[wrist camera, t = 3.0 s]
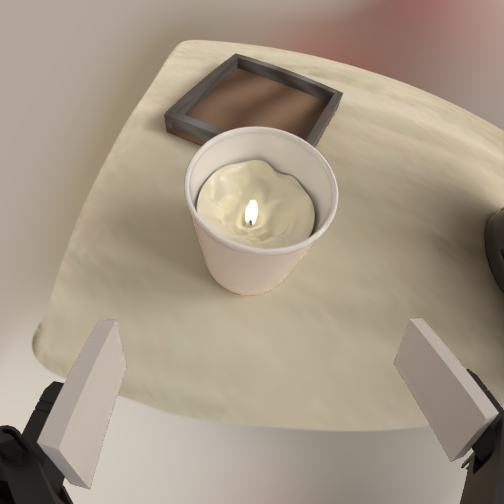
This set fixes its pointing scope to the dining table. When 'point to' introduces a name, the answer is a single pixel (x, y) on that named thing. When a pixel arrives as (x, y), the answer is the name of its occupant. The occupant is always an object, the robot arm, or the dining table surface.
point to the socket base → (253, 102)
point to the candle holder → (258, 205)
